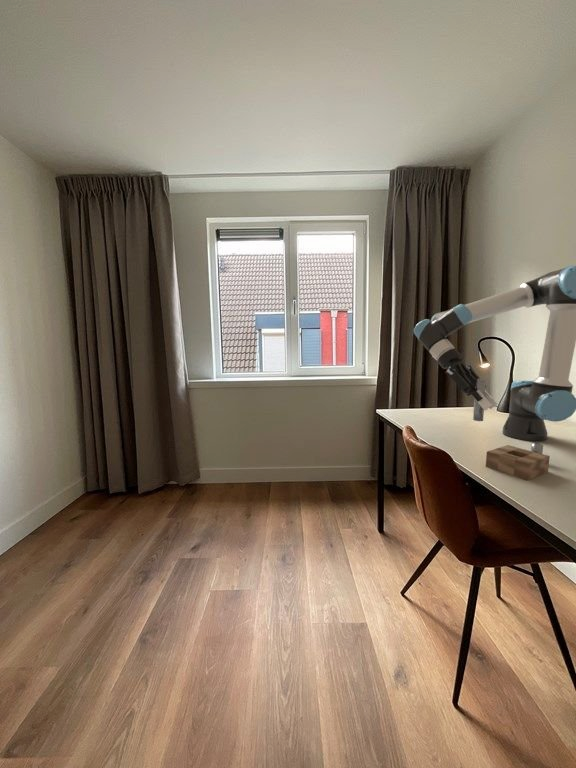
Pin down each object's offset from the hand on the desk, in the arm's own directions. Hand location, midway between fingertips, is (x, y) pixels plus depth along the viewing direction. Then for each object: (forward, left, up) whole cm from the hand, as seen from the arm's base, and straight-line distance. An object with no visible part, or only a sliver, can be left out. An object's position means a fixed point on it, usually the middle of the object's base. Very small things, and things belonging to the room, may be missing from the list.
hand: (491, 407), depth 109 cm
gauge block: (0, +9, -18) cm, 20 cm away
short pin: (-12, +9, -18) cm, 23 cm away
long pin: (0, -4, -5) cm, 6 cm away
